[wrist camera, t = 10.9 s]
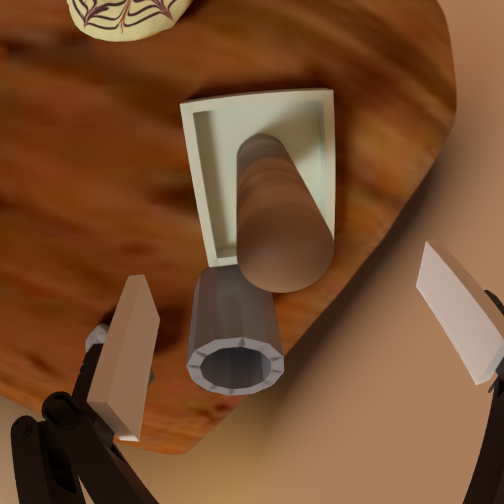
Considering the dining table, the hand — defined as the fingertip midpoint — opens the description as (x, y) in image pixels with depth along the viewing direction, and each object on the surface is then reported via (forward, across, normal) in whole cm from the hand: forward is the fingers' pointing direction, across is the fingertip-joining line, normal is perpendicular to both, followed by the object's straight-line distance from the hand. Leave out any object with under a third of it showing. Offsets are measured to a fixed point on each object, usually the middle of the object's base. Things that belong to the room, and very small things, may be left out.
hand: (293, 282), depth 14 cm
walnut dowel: (+14, 0, +1) cm, 14 cm away
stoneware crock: (+15, -4, -12) cm, 19 cm away
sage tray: (+15, 0, 0) cm, 15 cm away
